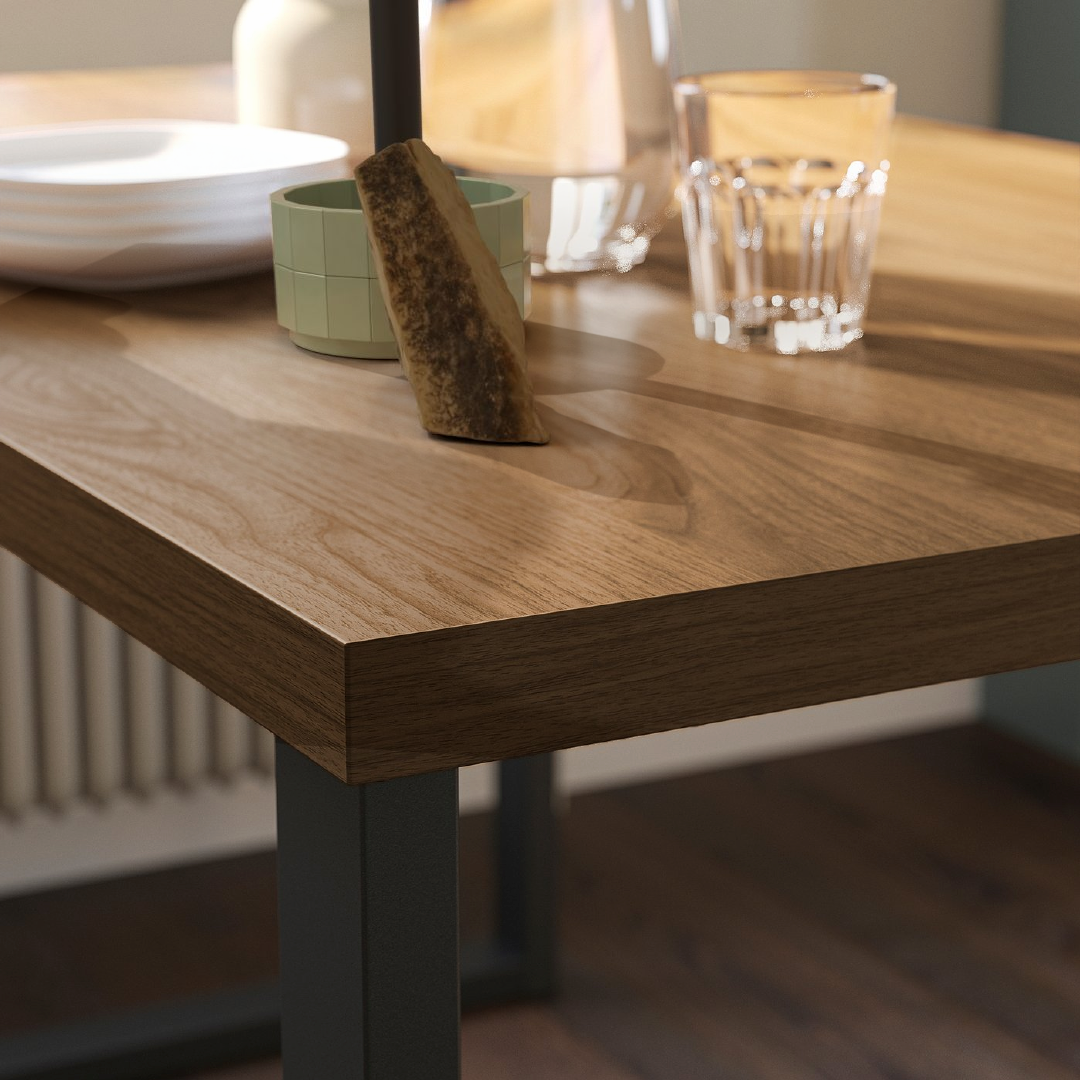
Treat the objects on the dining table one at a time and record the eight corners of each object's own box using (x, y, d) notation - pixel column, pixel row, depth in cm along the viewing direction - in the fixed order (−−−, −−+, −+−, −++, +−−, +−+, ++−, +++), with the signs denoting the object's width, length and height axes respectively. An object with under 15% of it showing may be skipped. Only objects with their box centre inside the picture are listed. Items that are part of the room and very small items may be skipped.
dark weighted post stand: (338, 325, 73) (308, -308, 65) (365, 302, 78) (340, -294, 70) (445, 328, 73) (428, -312, 65) (467, 305, 77) (454, -297, 69)
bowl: (243, 358, 71) (233, 210, 69) (318, 304, 81) (312, 173, 79) (504, 366, 70) (502, 214, 68) (548, 309, 80) (547, 176, 78)
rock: (341, 305, 70) (235, 323, 60) (469, 131, 67) (379, 121, 57) (547, 482, 69) (472, 529, 59) (685, 313, 66) (629, 334, 57)
